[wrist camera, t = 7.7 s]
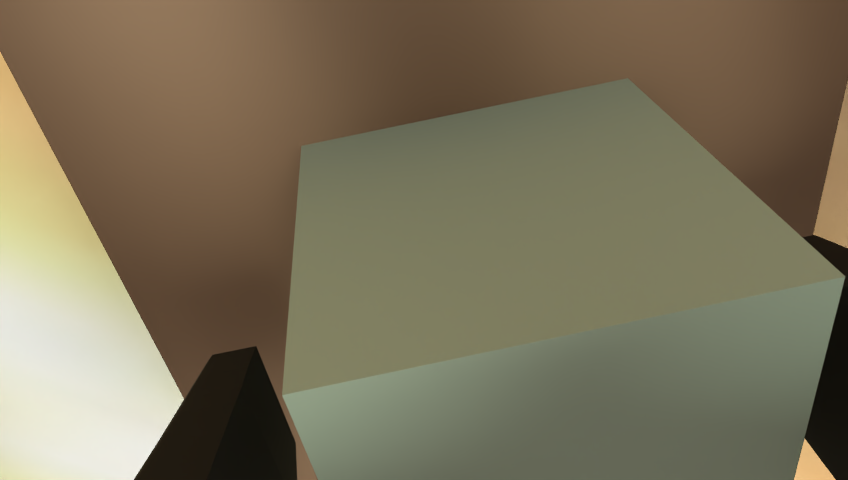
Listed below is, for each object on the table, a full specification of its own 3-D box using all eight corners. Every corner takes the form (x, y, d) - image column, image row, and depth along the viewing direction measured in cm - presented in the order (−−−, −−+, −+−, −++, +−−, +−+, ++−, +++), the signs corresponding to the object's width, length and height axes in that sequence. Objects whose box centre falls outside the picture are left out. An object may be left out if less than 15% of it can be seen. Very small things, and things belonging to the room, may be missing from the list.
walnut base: (778, -228, 10) (918, -238, 8) (708, 326, 17) (772, 413, 15) (37, -88, 10) (-55, -54, 8) (260, 416, 17) (248, 520, 15)
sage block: (627, 78, 10) (845, 276, 6) (625, 323, 13) (769, 576, 9) (301, 145, 10) (281, 394, 6) (371, 377, 13) (393, 656, 8)
